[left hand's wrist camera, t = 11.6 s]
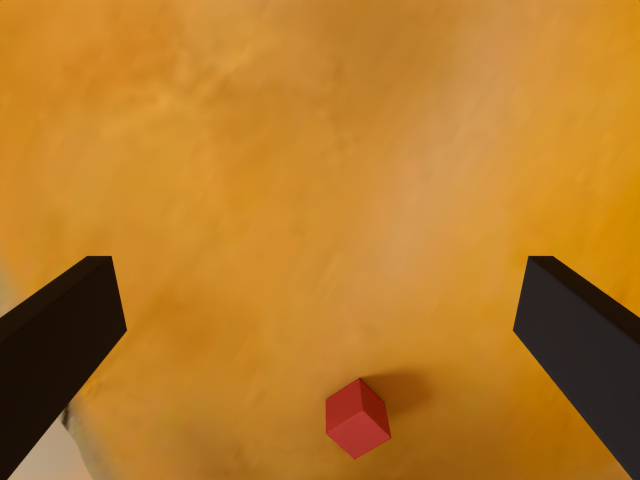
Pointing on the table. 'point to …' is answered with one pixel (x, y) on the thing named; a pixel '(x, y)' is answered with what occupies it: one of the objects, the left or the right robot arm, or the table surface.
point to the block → (357, 419)
